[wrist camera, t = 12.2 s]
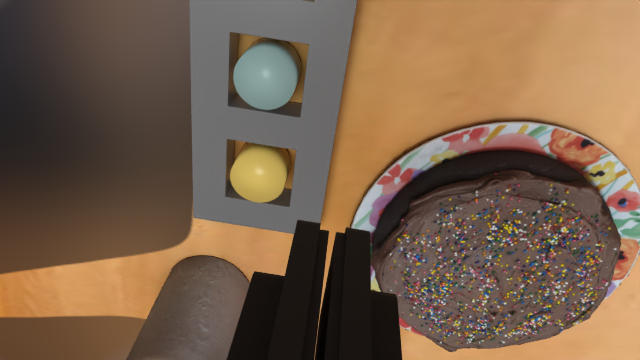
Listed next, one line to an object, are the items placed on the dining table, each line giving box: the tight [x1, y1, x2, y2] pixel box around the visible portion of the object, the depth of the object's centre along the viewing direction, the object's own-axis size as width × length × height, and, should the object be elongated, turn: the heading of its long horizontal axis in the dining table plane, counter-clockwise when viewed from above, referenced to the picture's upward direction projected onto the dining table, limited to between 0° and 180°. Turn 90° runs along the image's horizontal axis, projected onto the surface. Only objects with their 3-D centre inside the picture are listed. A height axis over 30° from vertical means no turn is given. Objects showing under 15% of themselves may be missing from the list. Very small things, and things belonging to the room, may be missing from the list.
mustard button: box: [230, 142, 290, 203], centre depth 41 cm, size 5×5×3 cm
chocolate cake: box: [350, 121, 640, 352], centre depth 43 cm, size 28×28×7 cm
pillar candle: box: [126, 256, 250, 360], centre depth 46 cm, size 10×10×15 cm
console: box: [190, 0, 357, 234], centre depth 37 cm, size 12×30×3 cm, turn 172°
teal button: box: [233, 38, 301, 110], centre depth 36 cm, size 5×5×3 cm
